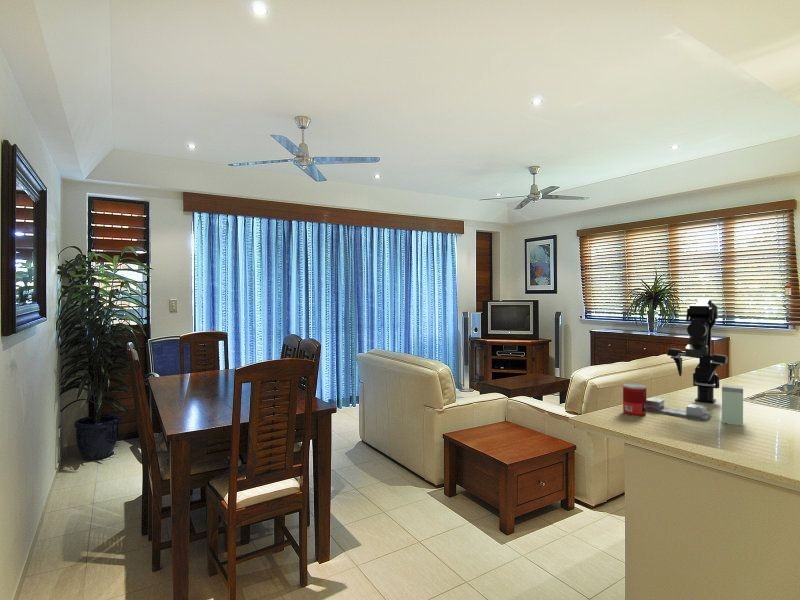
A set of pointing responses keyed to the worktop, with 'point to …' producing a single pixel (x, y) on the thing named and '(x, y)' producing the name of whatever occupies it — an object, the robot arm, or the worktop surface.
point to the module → (732, 404)
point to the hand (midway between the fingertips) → (694, 378)
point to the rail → (690, 412)
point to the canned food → (634, 399)
